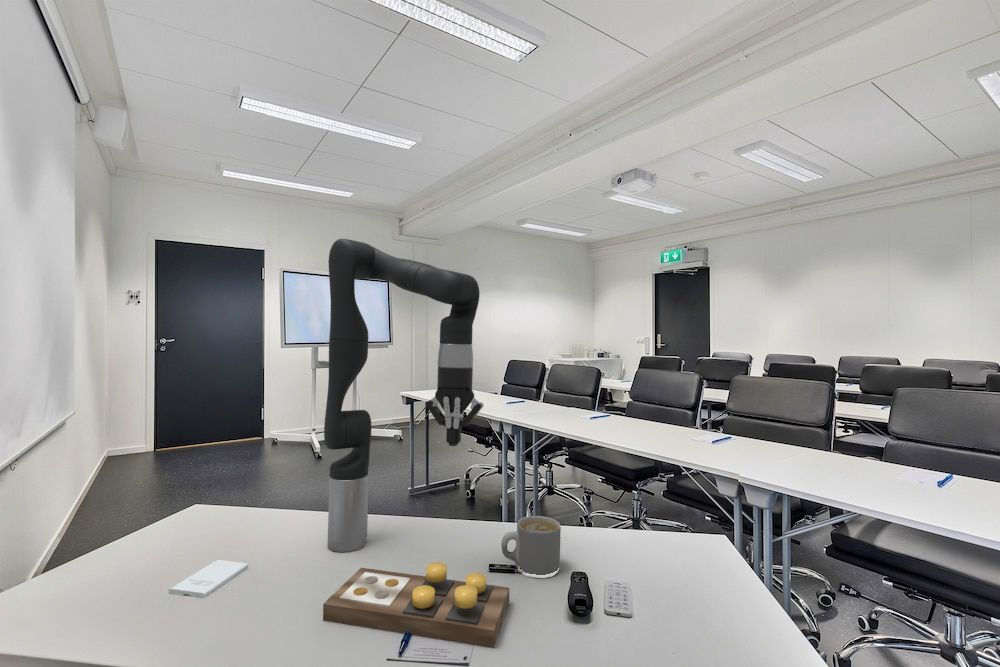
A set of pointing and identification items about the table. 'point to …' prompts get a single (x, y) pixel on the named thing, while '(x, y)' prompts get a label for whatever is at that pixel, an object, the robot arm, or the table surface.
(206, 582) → the external hard drive
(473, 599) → the button
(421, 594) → the button
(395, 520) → the table surface
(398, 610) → the button board
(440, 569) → the button
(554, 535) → the coffee mug
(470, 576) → the button
